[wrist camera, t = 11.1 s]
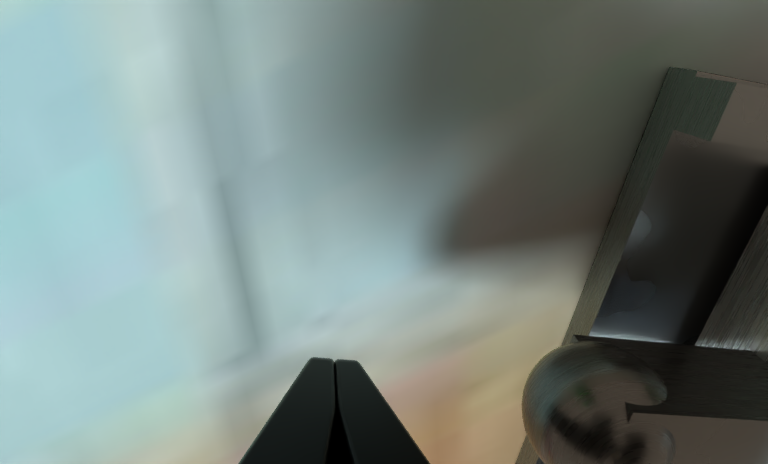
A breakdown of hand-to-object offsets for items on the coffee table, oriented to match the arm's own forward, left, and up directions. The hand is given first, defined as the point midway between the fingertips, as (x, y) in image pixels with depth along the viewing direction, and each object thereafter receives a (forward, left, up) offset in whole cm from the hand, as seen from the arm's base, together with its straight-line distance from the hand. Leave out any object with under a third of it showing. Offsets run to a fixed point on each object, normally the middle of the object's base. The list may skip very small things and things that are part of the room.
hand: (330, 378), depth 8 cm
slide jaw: (0, -7, -2) cm, 7 cm away
